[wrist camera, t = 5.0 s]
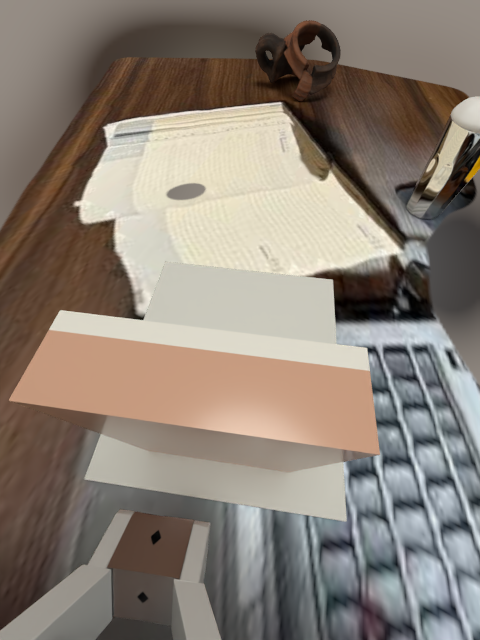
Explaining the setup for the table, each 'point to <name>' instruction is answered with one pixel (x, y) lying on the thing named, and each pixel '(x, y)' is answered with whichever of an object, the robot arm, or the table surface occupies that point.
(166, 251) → the table surface
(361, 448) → the tile
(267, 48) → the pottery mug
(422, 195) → the milkshake
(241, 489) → the mat
